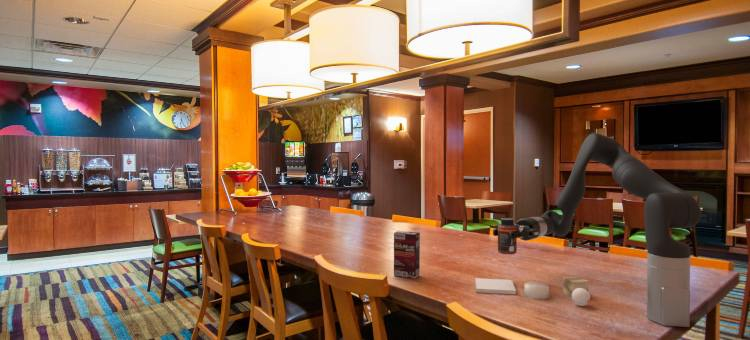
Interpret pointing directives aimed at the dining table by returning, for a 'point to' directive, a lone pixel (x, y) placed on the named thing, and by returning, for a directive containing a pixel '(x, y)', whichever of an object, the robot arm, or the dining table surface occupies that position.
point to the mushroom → (580, 296)
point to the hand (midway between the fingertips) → (502, 234)
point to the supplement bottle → (506, 237)
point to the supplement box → (406, 254)
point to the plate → (494, 286)
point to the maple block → (573, 284)
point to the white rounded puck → (536, 290)
